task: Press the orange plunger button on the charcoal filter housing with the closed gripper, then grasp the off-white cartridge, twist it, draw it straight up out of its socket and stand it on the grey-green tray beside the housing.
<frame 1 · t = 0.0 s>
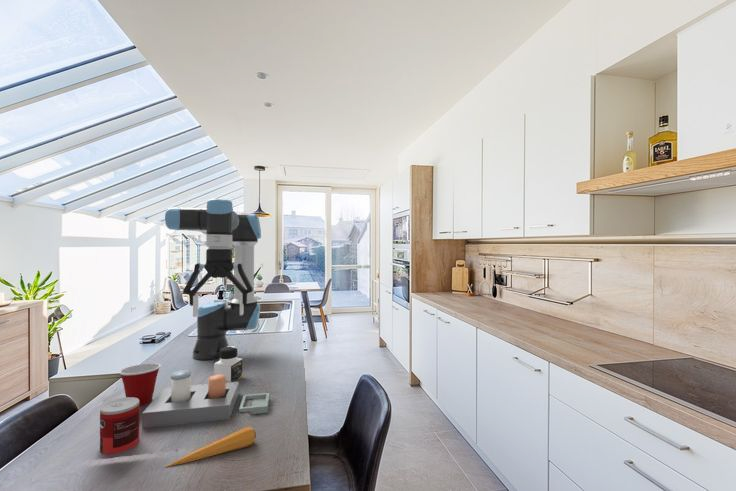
hand: (218, 315, 104), 28 cm above the countertop, fingers open, 13 cm apart
carrot: (212, 454, 80), on the countertop
tray: (254, 406, 102), on the countertop
cartridge: (180, 410, 98), point 1 cm above the countertop, touching housing
plunger: (217, 387, 100), point 7 cm above the countertop, slide at 0.0 cm
medicine bottle: (228, 380, 122), on the countertop
housing: (195, 412, 98), on the countertop
plastic cup: (140, 405, 102), on the countertop
canned food: (120, 449, 81), on the countertop
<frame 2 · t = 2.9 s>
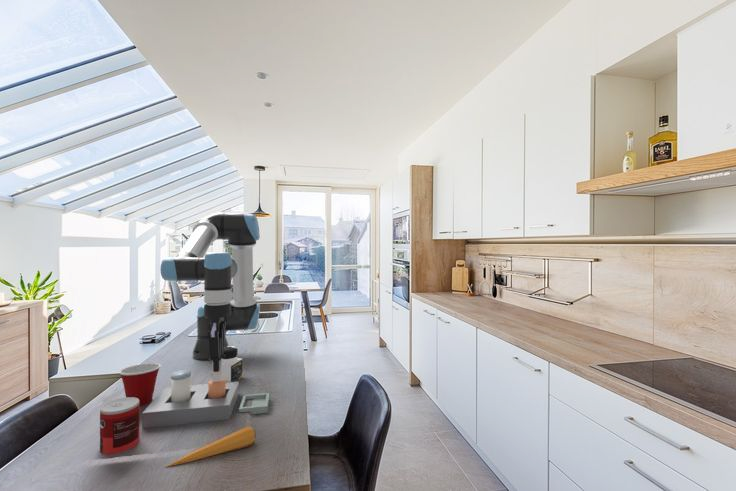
hand: (217, 380, 100), 9 cm above the countertop, fingers closed
plunger: (217, 391, 100), point 6 cm above the countertop, slide at 1.2 cm, touching gripper
everything else where it was.
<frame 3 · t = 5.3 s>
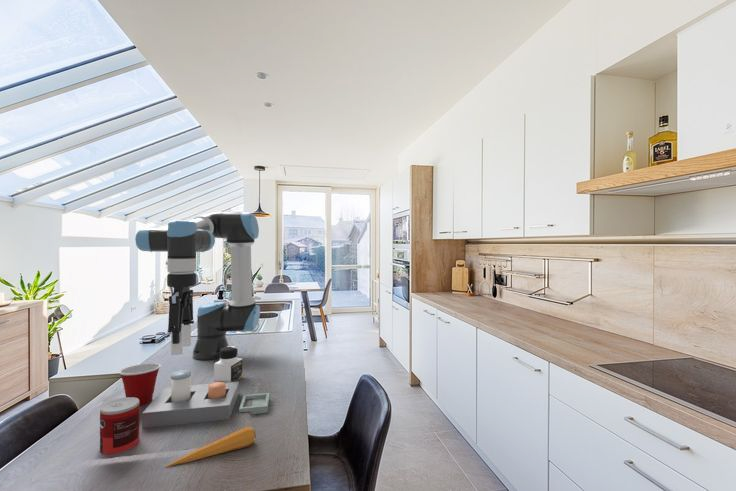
hand: (181, 349, 98), 19 cm above the countertop, fingers open, 7 cm apart
plunger: (217, 395, 100), point 5 cm above the countertop, slide at 2.3 cm
everything else where it was.
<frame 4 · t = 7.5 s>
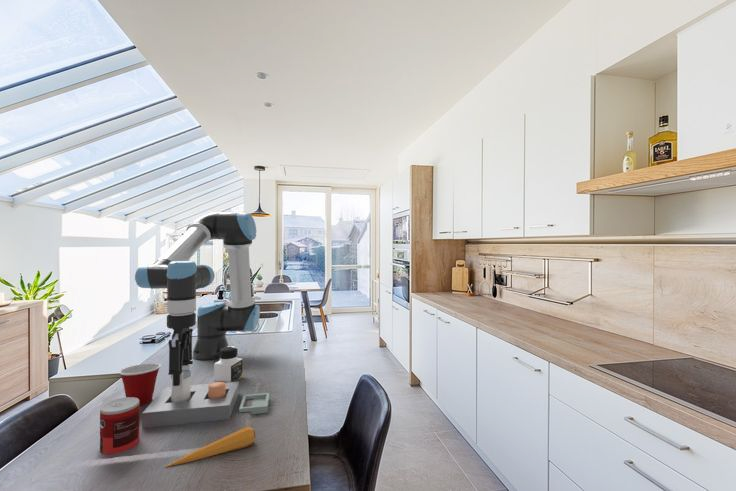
hand: (181, 390, 98), 7 cm above the countertop, fingers closed on cartridge, 5 cm apart
cartridge: (180, 410, 98), point 1 cm above the countertop, touching gripper, housing
everything else where it was.
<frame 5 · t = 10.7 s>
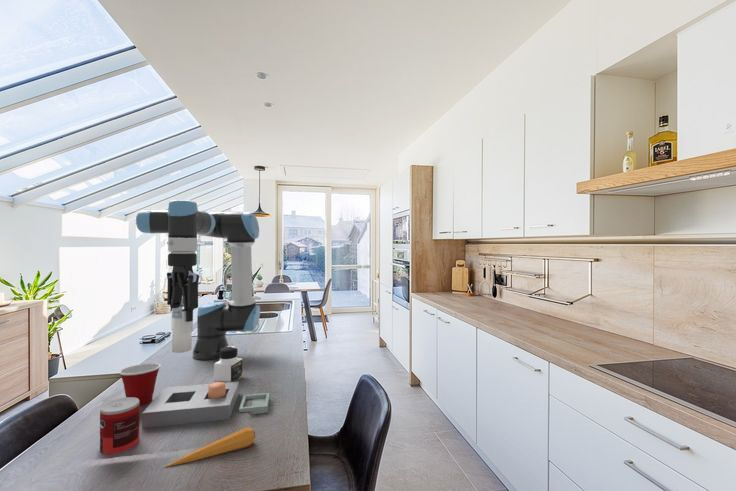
hand: (182, 330, 98), 25 cm above the countertop, fingers closed on cartridge, 5 cm apart
cartridge: (181, 350, 98), point 19 cm above the countertop, touching gripper
everything else where it was.
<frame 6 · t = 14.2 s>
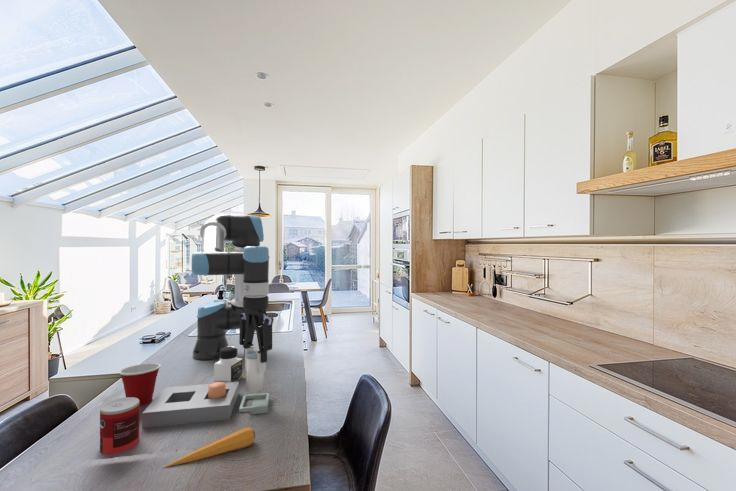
hand: (255, 370, 102), 11 cm above the countertop, fingers closed on cartridge, 5 cm apart
cartridge: (254, 388, 102), point 6 cm above the countertop, touching gripper
everything else where it was.
when the fingers open (8 cm above the countertop, at t = 15.3 s): cartridge drops 2 cm, resting on tray.
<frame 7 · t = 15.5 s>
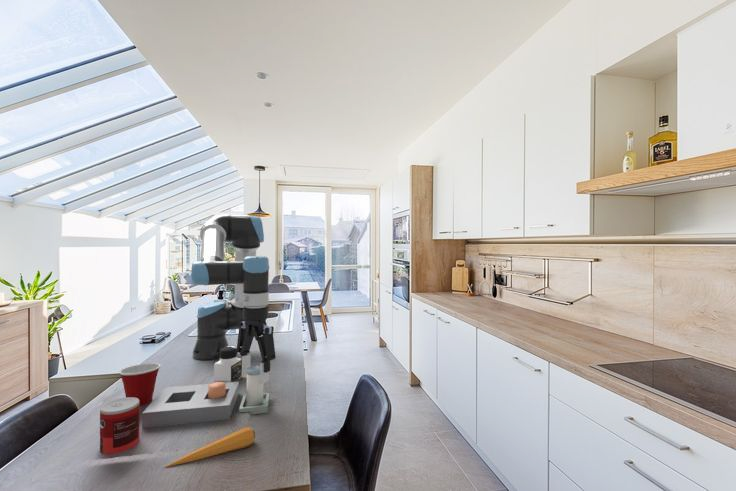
hand: (255, 378, 102), 9 cm above the countertop, fingers open, 8 cm apart
cartridge: (254, 404, 102), point 1 cm above the countertop, touching tray
everything else where it was.
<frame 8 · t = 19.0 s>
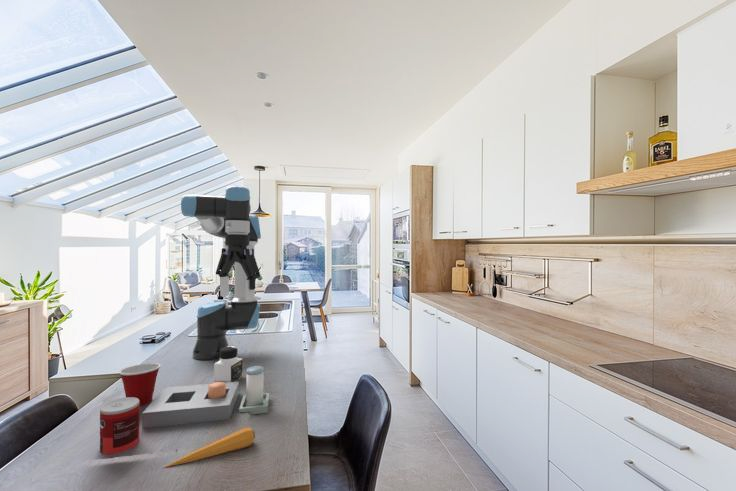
hand: (236, 297, 109), 33 cm above the countertop, fingers open, 13 cm apart
nothing on the countertop moved.
at the end: plunger slide at 2.3 cm; cartridge inside the target area on the tray (0.1 cm from its centre), point 0.8 cm above the tray's base; cartridge tilted 0° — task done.
